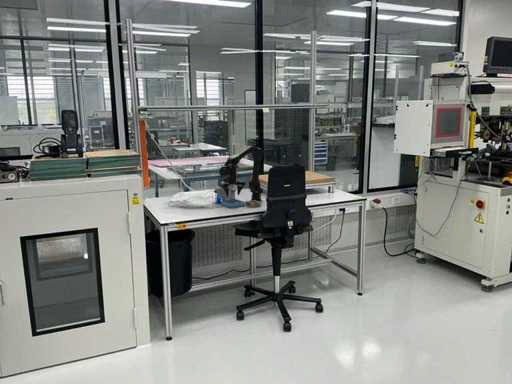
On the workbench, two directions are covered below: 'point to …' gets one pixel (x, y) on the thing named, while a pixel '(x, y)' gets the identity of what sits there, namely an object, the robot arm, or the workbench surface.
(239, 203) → the tray
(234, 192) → the pin
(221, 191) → the circuit breaker
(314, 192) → the workbench surface
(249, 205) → the hole block
